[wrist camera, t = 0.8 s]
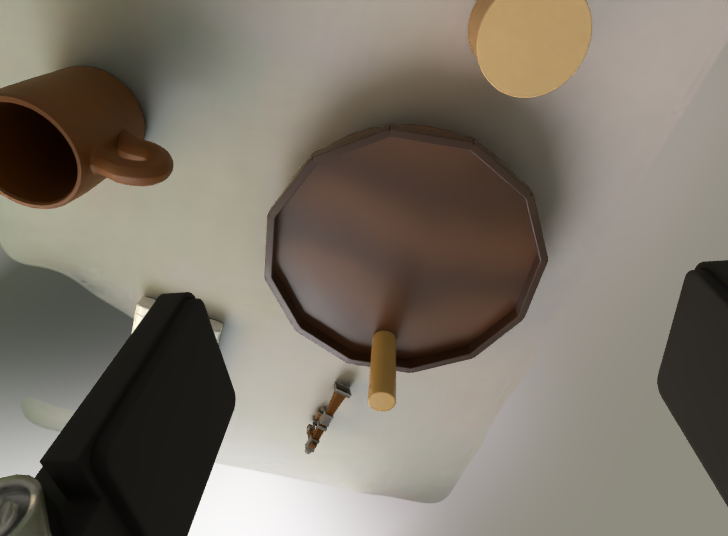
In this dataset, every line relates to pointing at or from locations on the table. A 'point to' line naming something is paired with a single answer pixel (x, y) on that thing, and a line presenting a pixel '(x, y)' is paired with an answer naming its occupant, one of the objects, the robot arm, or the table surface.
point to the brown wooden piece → (325, 417)
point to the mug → (73, 138)
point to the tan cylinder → (529, 43)
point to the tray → (404, 251)
